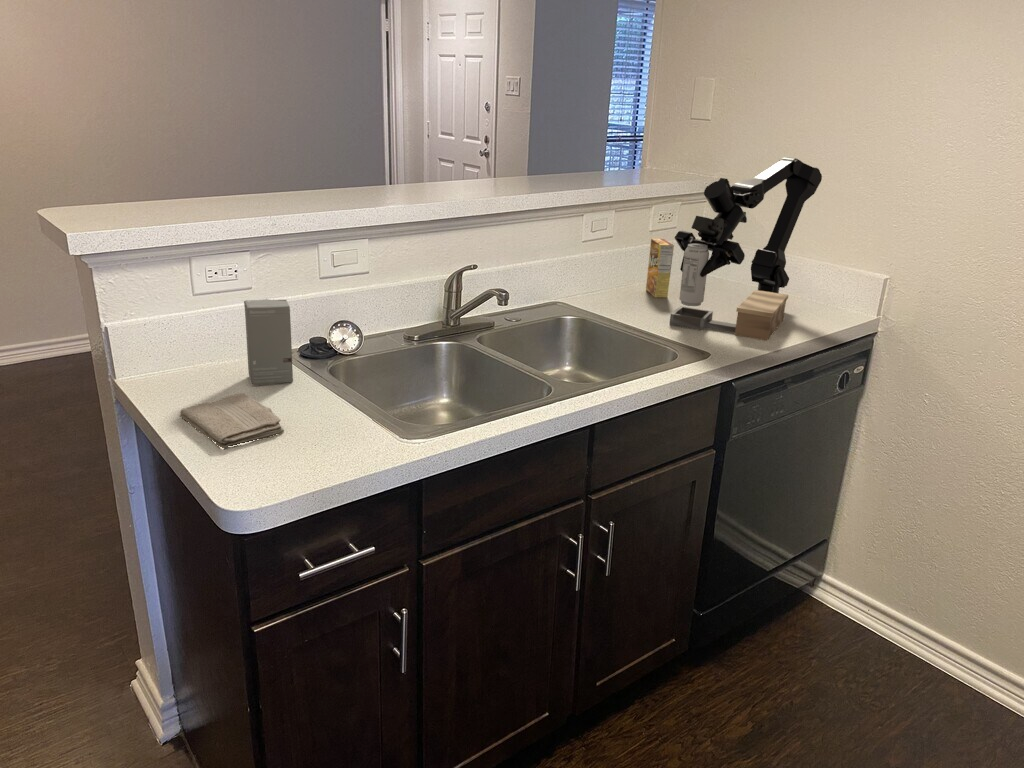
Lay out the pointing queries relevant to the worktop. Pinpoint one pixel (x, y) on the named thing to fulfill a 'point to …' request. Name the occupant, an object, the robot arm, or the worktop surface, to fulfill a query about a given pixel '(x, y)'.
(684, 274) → the energy drink can
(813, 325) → the worktop surface
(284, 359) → the skincare box
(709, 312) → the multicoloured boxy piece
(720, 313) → the worktop surface
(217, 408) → the washcloth
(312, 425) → the worktop surface
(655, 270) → the candy box
